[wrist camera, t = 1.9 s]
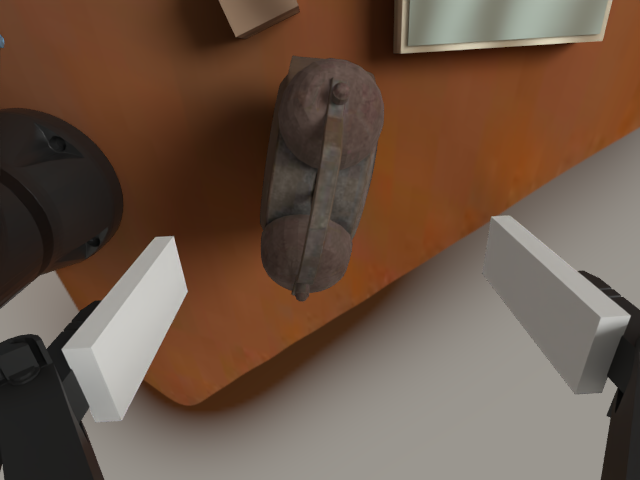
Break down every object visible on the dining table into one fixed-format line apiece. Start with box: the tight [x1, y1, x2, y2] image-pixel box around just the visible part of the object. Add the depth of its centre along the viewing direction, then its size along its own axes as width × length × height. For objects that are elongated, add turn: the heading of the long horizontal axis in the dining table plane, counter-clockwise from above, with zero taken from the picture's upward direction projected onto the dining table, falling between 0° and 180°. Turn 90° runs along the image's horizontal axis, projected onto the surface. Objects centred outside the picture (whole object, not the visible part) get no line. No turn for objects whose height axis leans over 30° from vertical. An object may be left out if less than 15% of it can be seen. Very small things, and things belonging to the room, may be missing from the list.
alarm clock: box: [260, 56, 384, 301], centre depth 27 cm, size 15×7×20 cm, turn 169°
